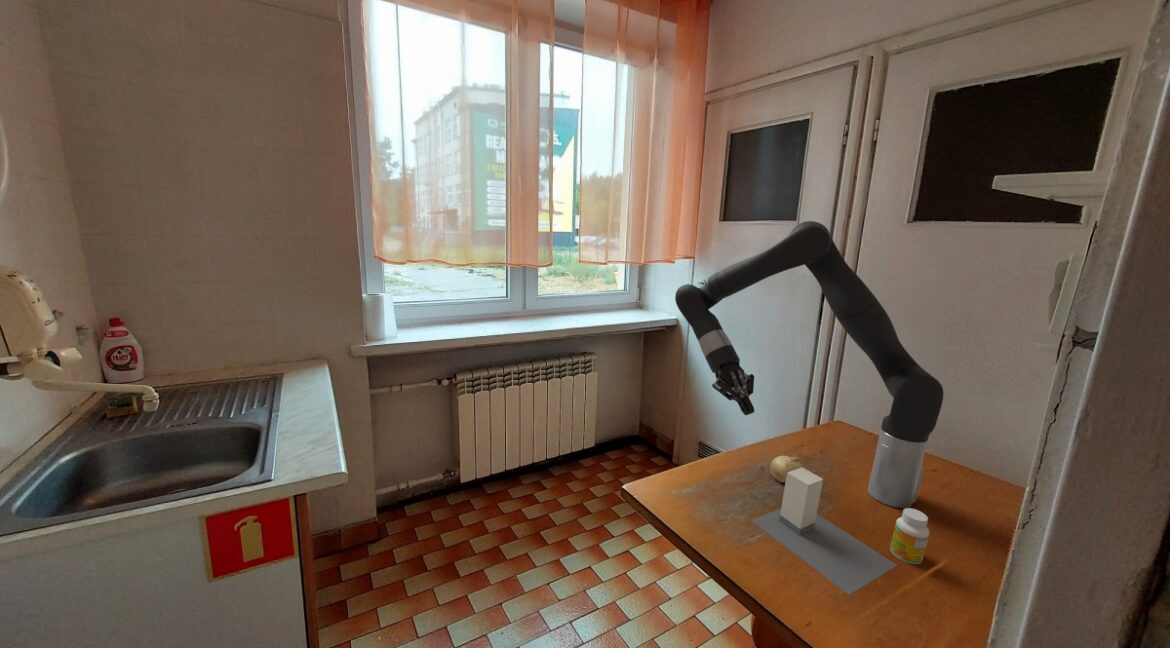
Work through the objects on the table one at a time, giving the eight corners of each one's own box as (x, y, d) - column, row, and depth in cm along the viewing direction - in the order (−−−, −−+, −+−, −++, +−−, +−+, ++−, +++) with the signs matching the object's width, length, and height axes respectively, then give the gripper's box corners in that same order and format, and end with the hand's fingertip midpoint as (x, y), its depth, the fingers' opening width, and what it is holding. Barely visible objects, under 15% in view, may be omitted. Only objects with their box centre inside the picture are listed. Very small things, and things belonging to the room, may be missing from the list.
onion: (792, 493, 109) (796, 467, 107) (762, 478, 115) (766, 453, 113) (807, 482, 114) (811, 457, 112) (778, 468, 120) (781, 445, 118)
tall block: (779, 520, 97) (787, 472, 94) (793, 514, 100) (802, 467, 97) (799, 535, 93) (808, 484, 90) (814, 528, 95) (823, 479, 93)
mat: (750, 522, 97) (750, 520, 97) (797, 503, 105) (797, 501, 104) (848, 597, 78) (849, 594, 78) (897, 567, 86) (897, 565, 86)
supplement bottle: (883, 546, 91) (892, 505, 89) (907, 546, 92) (917, 505, 90) (903, 566, 86) (914, 523, 84) (928, 565, 87) (939, 523, 84)
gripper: (707, 346, 107) (740, 412, 99) (745, 341, 113) (779, 403, 106) (690, 360, 113) (720, 424, 105) (728, 355, 119) (758, 415, 111)
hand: (750, 413), depth 105 cm, fingers closed
